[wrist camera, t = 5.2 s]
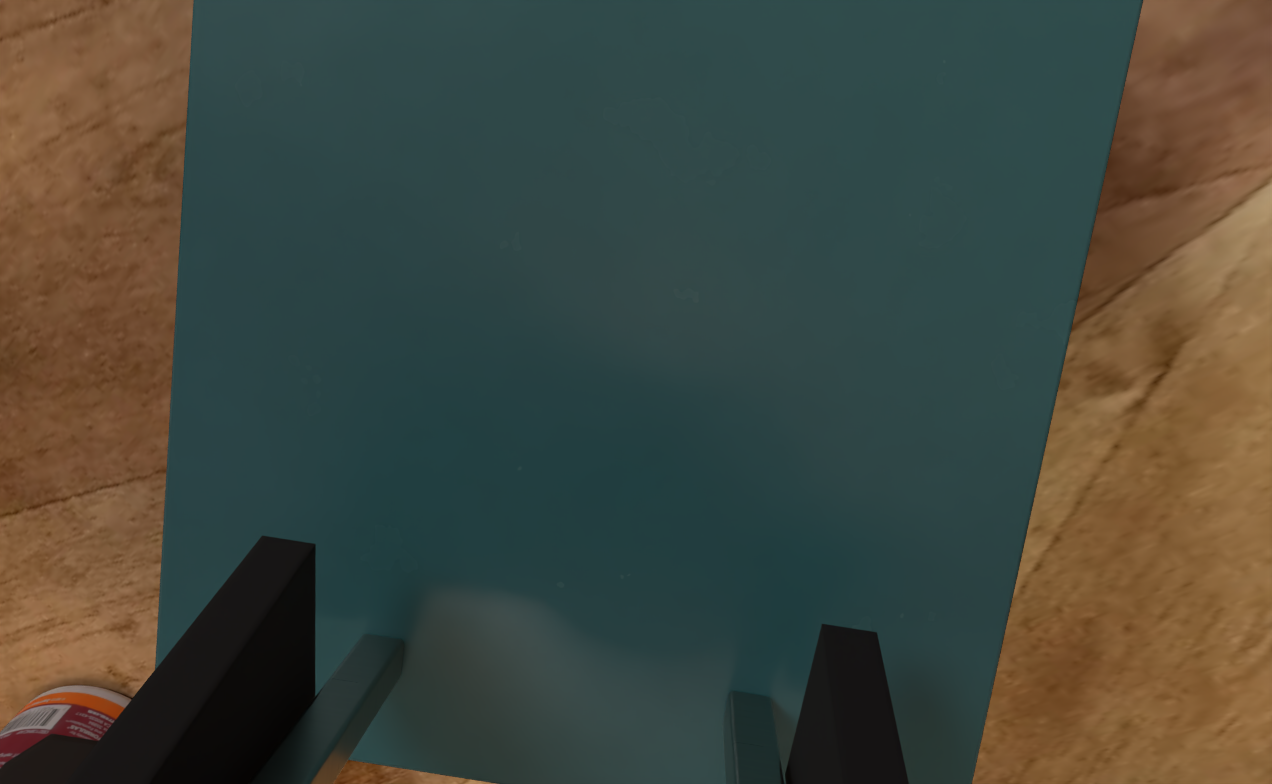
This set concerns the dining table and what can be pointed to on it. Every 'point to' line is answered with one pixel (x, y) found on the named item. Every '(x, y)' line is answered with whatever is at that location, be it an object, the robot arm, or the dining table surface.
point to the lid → (628, 360)
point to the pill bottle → (62, 717)
